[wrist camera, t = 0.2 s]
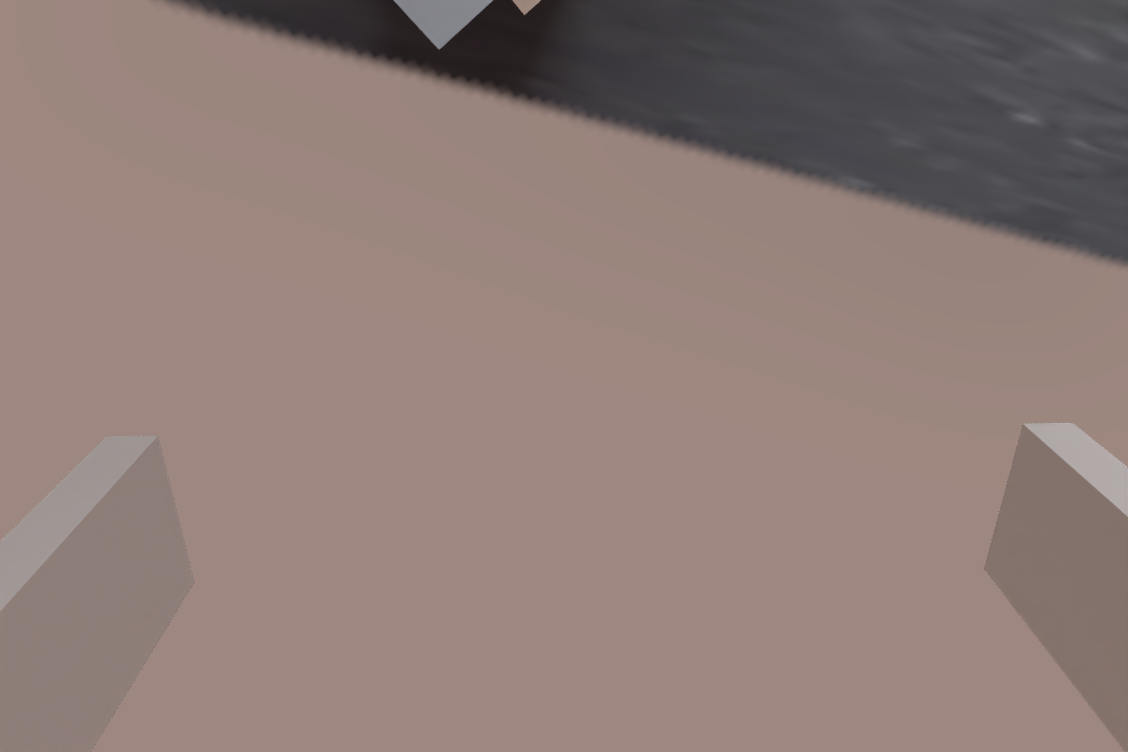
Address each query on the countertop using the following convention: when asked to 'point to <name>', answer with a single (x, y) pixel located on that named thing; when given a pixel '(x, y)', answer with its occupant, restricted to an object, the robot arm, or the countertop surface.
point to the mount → (525, 5)
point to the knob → (441, 16)
